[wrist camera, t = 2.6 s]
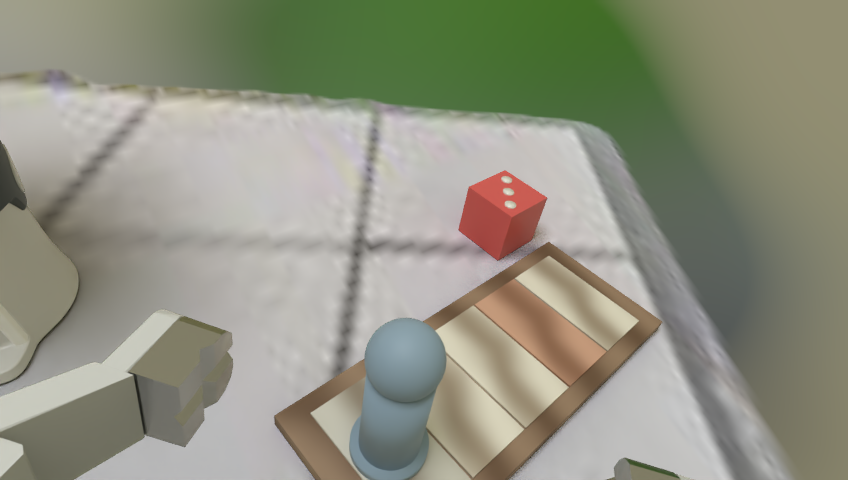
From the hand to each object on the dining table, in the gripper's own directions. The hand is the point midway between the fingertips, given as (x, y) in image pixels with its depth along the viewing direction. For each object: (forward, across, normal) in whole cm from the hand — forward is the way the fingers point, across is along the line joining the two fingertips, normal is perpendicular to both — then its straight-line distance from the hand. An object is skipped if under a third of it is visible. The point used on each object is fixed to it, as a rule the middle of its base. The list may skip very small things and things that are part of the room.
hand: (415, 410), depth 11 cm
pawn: (+16, -1, -24) cm, 29 cm away
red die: (+44, +3, -22) cm, 49 cm away
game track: (+26, +5, -24) cm, 36 cm away
